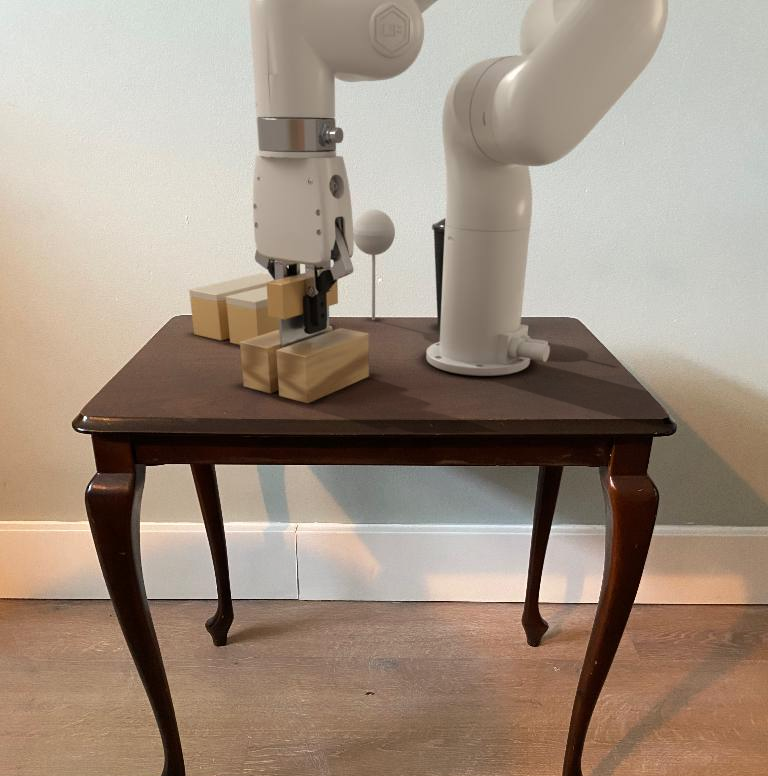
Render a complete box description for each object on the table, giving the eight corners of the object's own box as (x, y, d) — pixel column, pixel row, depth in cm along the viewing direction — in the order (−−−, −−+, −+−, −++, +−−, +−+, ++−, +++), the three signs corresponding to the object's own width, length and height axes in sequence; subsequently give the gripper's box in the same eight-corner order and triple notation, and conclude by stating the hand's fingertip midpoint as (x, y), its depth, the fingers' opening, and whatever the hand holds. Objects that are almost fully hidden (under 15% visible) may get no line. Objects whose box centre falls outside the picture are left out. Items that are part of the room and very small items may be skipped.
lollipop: (389, 326, 104) (390, 213, 96) (348, 323, 105) (347, 211, 97) (397, 315, 109) (399, 207, 102) (358, 313, 110) (358, 206, 103)
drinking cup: (485, 335, 100) (497, 175, 90) (429, 335, 100) (435, 174, 90) (479, 321, 106) (490, 170, 97) (426, 321, 106) (432, 170, 97)
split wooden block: (369, 376, 84) (369, 333, 82) (307, 403, 76) (305, 356, 74) (307, 362, 89) (305, 321, 86) (243, 386, 81) (239, 341, 78)
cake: (327, 326, 103) (326, 283, 100) (259, 349, 93) (255, 301, 90) (264, 314, 109) (261, 272, 106) (194, 334, 99) (188, 289, 96)
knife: (339, 373, 85) (337, 271, 80) (288, 394, 79) (282, 284, 73) (324, 369, 86) (321, 268, 81) (273, 390, 80) (266, 282, 74)
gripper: (387, 141, 69) (385, 333, 78) (262, 136, 77) (273, 312, 86) (338, 143, 64) (342, 349, 73) (210, 138, 72) (227, 325, 81)
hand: (305, 327), depth 79 cm, fingers closed on knife, 2 cm apart
